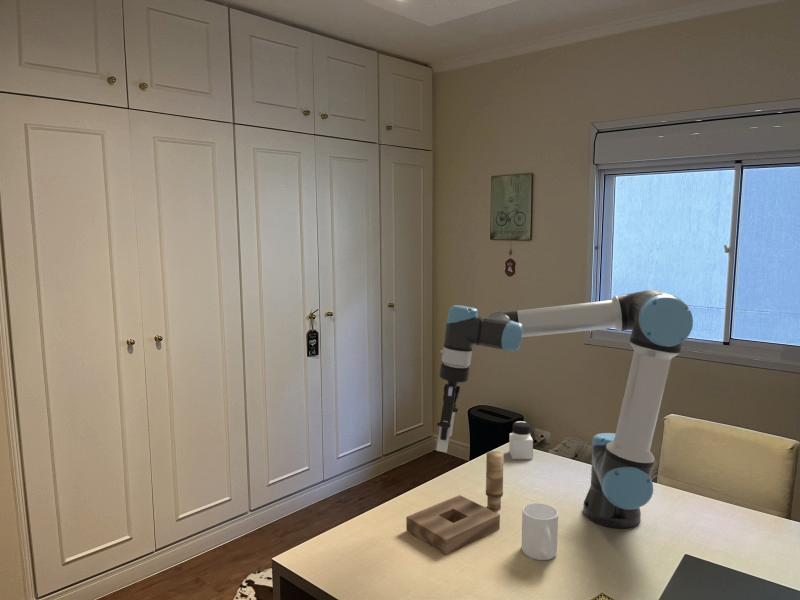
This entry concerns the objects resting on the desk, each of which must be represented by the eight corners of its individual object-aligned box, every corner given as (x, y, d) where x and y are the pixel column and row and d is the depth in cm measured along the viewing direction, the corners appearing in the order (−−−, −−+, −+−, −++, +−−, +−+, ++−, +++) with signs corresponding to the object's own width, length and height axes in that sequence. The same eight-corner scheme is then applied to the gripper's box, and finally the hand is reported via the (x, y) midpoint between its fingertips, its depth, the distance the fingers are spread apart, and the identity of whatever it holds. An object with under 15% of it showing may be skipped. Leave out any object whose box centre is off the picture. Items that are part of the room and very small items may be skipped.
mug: (530, 570, 137) (532, 527, 136) (517, 543, 149) (518, 503, 147) (566, 569, 137) (568, 526, 136) (550, 542, 149) (551, 502, 148)
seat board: (499, 528, 156) (499, 514, 155) (445, 555, 143) (445, 539, 143) (459, 508, 167) (459, 495, 167) (406, 530, 155) (406, 516, 154)
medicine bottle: (532, 459, 203) (533, 426, 201) (512, 459, 203) (513, 426, 202) (528, 451, 210) (529, 419, 208) (508, 451, 210) (509, 419, 209)
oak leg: (506, 508, 167) (507, 454, 165) (494, 513, 164) (495, 458, 162) (493, 502, 171) (494, 449, 169) (481, 507, 168) (482, 453, 166)
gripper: (445, 354, 165) (435, 426, 167) (435, 371, 141) (424, 455, 143) (472, 358, 164) (461, 431, 166) (466, 376, 139) (454, 461, 141)
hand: (444, 442), depth 154 cm, fingers open, 13 cm apart
